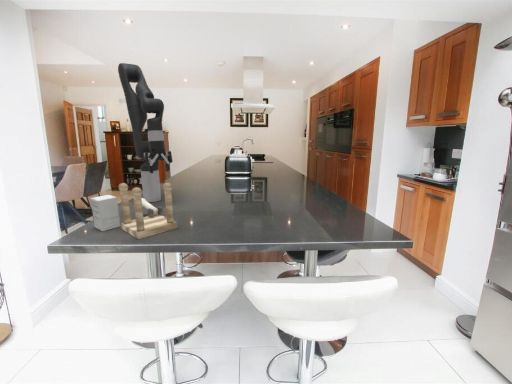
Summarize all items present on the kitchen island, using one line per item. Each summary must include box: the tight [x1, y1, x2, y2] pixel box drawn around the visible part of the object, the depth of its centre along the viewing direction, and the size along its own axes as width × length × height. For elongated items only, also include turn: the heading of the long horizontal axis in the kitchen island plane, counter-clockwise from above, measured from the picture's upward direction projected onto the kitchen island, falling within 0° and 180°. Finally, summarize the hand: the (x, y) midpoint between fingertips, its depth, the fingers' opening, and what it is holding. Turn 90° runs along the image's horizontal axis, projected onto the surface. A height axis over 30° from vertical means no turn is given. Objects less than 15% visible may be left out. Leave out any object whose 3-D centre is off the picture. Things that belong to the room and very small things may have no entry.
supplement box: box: [90, 194, 121, 232], centre depth 108 cm, size 7×7×13 cm
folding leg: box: [141, 197, 158, 215], centre depth 119 cm, size 3×3×14 cm
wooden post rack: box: [118, 182, 179, 240], centre depth 106 cm, size 16×17×19 cm
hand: (159, 172), depth 137 cm, fingers open, 8 cm apart
